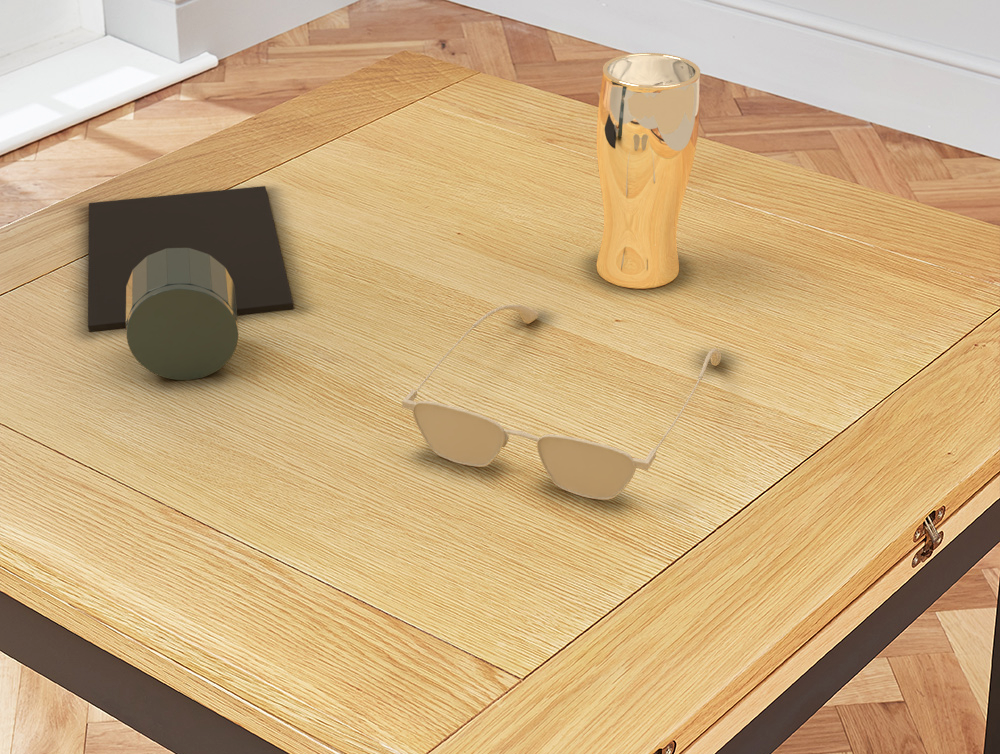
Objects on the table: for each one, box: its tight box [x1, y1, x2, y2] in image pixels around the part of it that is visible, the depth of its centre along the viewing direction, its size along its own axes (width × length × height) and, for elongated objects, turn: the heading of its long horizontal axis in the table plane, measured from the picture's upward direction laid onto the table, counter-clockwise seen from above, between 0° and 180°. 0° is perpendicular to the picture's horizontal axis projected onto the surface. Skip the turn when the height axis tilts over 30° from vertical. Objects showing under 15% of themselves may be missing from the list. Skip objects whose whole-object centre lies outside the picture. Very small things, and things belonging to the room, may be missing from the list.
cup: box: [125, 248, 239, 381], centre depth 87 cm, size 7×7×5 cm
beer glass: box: [596, 52, 701, 290], centre depth 95 cm, size 7×7×15 cm
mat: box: [87, 185, 295, 333], centre depth 101 cm, size 20×14×1 cm
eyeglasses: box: [401, 304, 722, 501], centre depth 84 cm, size 15×18×4 cm
